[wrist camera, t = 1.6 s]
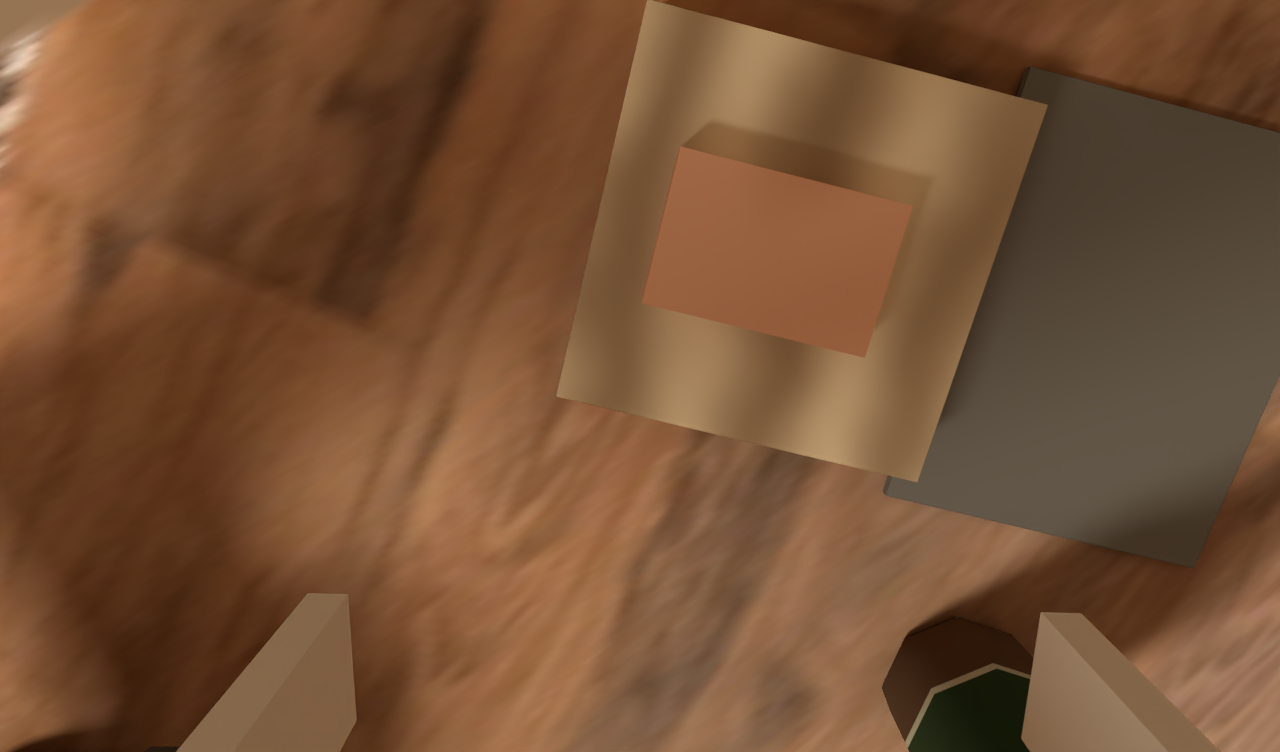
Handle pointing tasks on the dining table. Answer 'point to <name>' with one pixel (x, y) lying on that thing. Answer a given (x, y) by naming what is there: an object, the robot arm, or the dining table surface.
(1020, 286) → the rubber mat
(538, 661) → the dining table surface
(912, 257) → the birch serving board
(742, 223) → the terracotta tile
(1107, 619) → the dining table surface
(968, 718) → the beer bottle
